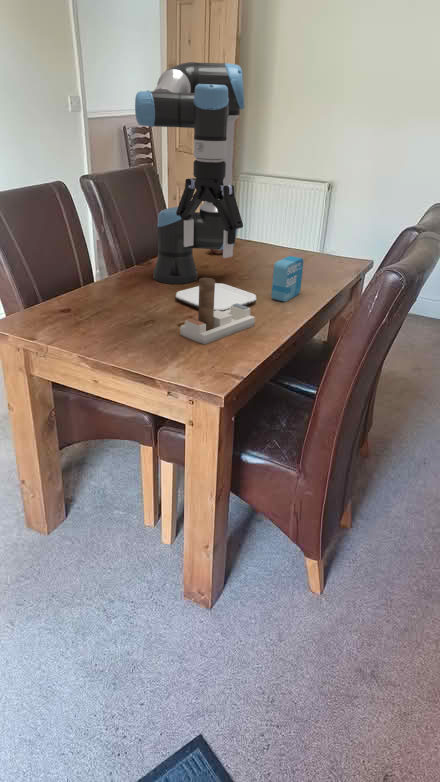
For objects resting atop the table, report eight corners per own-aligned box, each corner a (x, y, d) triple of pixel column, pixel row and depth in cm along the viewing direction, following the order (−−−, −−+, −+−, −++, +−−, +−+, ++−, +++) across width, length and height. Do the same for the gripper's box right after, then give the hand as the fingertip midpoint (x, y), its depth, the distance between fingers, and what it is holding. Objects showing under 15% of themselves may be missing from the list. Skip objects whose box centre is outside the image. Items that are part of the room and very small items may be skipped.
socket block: (180, 334, 151) (180, 317, 149) (230, 316, 164) (231, 301, 162) (204, 344, 145) (204, 327, 143) (254, 325, 159) (255, 309, 156)
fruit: (206, 255, 224) (206, 234, 220) (209, 250, 230) (210, 230, 227) (225, 256, 223) (226, 236, 219) (228, 252, 229) (229, 232, 226)
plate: (216, 287, 189) (216, 281, 188) (262, 303, 176) (263, 296, 175) (169, 300, 176) (169, 293, 175) (215, 318, 163) (215, 311, 162)
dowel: (194, 330, 151) (196, 279, 144) (205, 327, 153) (206, 276, 147) (205, 335, 148) (207, 283, 142) (216, 331, 151) (218, 280, 145)
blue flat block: (283, 303, 176) (286, 265, 171) (270, 300, 178) (273, 262, 173) (300, 293, 185) (304, 257, 180) (288, 290, 187) (291, 254, 182)
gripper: (161, 155, 136) (162, 243, 146) (239, 167, 121) (234, 264, 131) (184, 153, 141) (183, 239, 151) (261, 164, 126) (255, 259, 136)
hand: (207, 251), depth 141 cm, fingers open, 13 cm apart
